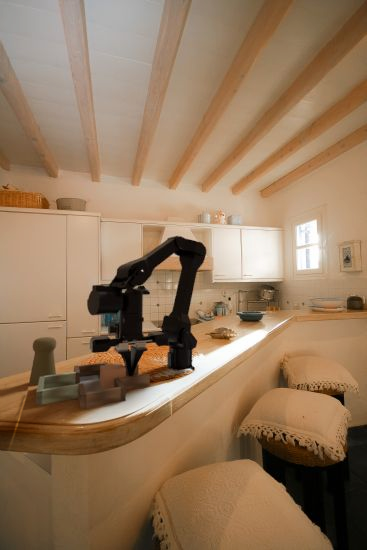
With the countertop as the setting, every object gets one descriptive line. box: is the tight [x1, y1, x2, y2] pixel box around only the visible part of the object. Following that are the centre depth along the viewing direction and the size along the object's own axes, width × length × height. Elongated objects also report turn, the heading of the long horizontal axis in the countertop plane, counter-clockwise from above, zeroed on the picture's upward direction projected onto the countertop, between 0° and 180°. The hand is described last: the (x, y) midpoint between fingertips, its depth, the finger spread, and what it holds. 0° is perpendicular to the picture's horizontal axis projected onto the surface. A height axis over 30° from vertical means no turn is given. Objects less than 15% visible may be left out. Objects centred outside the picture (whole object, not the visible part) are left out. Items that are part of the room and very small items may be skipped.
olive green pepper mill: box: [28, 336, 57, 387], centre depth 62 cm, size 6×6×11 cm
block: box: [100, 362, 126, 389], centre depth 59 cm, size 5×5×4 cm
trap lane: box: [35, 361, 151, 410], centre depth 57 cm, size 23×21×3 cm
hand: (130, 376), depth 61 cm, fingers closed
